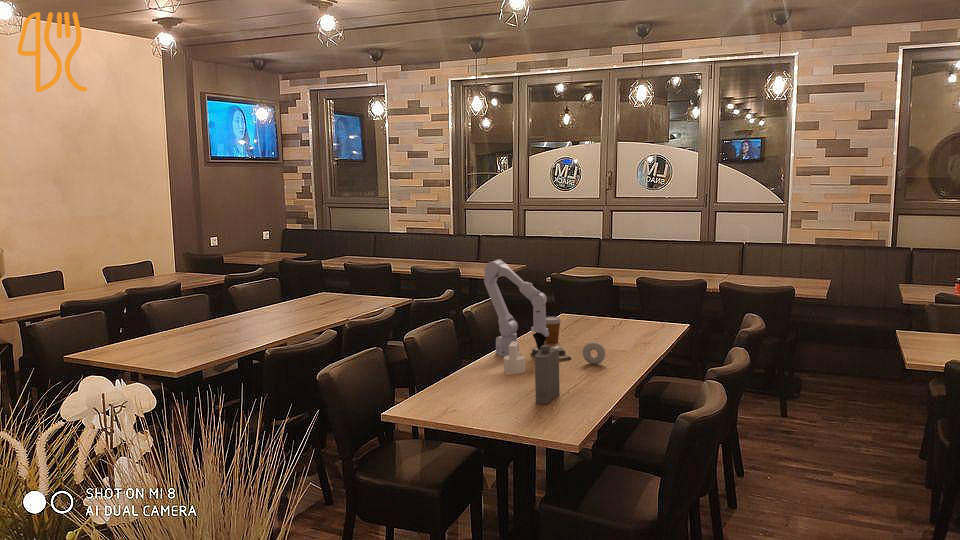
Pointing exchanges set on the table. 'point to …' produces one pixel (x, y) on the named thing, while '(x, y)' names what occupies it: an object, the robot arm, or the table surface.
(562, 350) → the tile two
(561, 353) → the dark brown cabinet frame
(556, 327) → the disposable coffee cup
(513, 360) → the cylinder with rectangular tab
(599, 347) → the donut
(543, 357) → the flask
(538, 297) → the robot arm
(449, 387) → the table surface
